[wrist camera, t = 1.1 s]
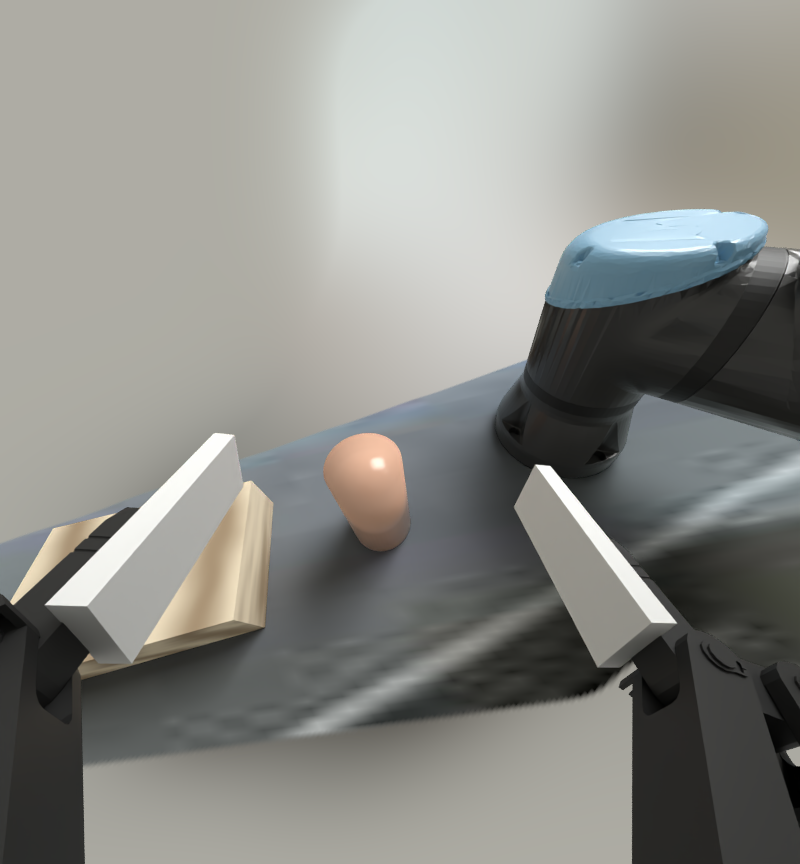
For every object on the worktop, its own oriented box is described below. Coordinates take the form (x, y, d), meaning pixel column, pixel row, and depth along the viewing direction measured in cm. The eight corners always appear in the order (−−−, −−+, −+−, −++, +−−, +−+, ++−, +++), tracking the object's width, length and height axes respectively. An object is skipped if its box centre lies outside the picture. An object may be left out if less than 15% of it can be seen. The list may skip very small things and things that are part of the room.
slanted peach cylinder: (419, 508, 33) (415, 446, 23) (394, 561, 29) (377, 513, 20) (372, 488, 35) (351, 424, 26) (343, 535, 31) (307, 481, 22)
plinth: (273, 503, 35) (249, 478, 30) (264, 627, 26) (229, 619, 22) (101, 546, 33) (48, 526, 28) (35, 693, 25) (-56, 698, 20)
